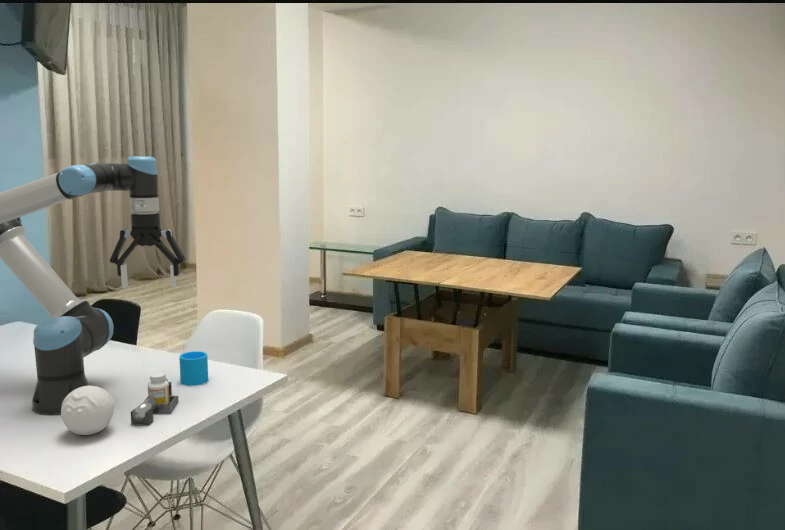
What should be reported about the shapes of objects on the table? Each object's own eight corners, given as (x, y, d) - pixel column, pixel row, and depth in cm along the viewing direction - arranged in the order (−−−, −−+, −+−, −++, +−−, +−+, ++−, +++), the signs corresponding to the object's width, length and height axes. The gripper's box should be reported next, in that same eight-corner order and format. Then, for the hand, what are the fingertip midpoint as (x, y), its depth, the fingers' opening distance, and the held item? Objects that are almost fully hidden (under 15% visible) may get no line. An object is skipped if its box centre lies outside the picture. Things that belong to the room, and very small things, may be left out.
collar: (139, 414, 180) (139, 407, 179) (148, 402, 188) (148, 396, 187) (170, 414, 180) (170, 407, 180) (178, 402, 188) (178, 395, 188)
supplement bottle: (158, 403, 187) (157, 370, 186) (174, 406, 185) (172, 372, 183) (144, 410, 182) (142, 376, 181) (160, 413, 180) (158, 379, 179)
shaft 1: (143, 414, 180) (142, 397, 179) (160, 415, 179) (159, 398, 178) (130, 425, 173) (129, 407, 172) (148, 426, 172) (147, 408, 171)
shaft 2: (170, 401, 189) (169, 385, 188) (151, 402, 188) (150, 386, 187) (172, 392, 195) (171, 376, 195) (154, 393, 194) (153, 377, 193)
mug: (210, 383, 203) (209, 357, 202) (182, 387, 200) (181, 361, 198) (204, 371, 214) (203, 346, 212) (177, 374, 210) (176, 349, 209)
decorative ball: (52, 441, 163) (48, 394, 161) (81, 421, 175) (77, 377, 173) (98, 444, 162) (94, 397, 160) (124, 424, 173) (121, 380, 171)
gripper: (94, 213, 183) (99, 290, 187) (187, 214, 185) (191, 289, 189) (104, 211, 191) (109, 284, 195) (193, 211, 192) (197, 284, 196)
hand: (149, 287), depth 192 cm, fingers open, 13 cm apart
